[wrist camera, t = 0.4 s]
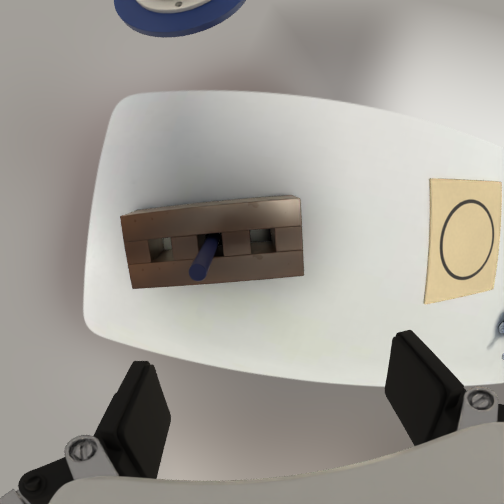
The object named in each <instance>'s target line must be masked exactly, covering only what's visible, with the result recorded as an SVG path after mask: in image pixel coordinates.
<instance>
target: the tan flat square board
mask: <svg viewBox="0 0 504 504" xmlns="http://www.w3.org/2000/svg"><path fill="white" fill-rule="evenodd" d="M501 202H502V183H501V182H494V181H478V180H457V179H430V235H429V254H428V268H427V279H426V289H425V297H424V304H430V303H435V302H440V301H444V300H449V299H454V298H458V297H463V296H467V295H472V294H476V293H480V292H484V291H488V290H492V289H493V288H494V282H495V275H496V268H497V260H498V251H499V241H500V227H501Z"/></svg>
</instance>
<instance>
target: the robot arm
mask: <svg viewBox="0 0 504 504" xmlns="http://www.w3.org/2000/svg"><path fill="white" fill-rule="evenodd" d="M136 1H137V2H138V3H139V4H140V5H141V6H142V7H143V8H145V9H147V10H149V11H153V12H157V13H177V12H184V11H187V10H191V9H194V8H197V7H199V6H202V5H203V4H205V3H207V2H209V1H211V0H136ZM463 387H464V385H463V384H462V383H461V382H460V381H459V380H458V379H457V378H456V377H455V376H454V375H453V373H452V372H451V371H450V370H449V369H448V368H447V367H446V366H445V365H444V364H443V363H442V362H441V361H440V359H439V358H438V357H437V356H436V355H435V354H434V353H433V352H432V351H431V350H430V349H429V348H428V347H427V346H426V345H425V344H424V343H423V342H422V341H421V340H420V339H419V337H418V336H417V335H416V334H415V333H414V332H413V331H411V330H407V331H403V332H398V333H397V334H396V337H394V338H393V340H392V346H391V354H390V360H389V367H388V373H387V379H386V385H385V394H386V397H387V399H388V400H389V402H390V403H391V405H392V407H393V409H394V410H395V412H396V414H397V416H398V417H399V419H400V421H401V423H402V424H403V426H404V428H405V430H406V431H407V433H408V435H409V437H410V438H411V440H412V442H413V444H414V447H411V448H408V449H405V450H402V451H399V452H396V453H392V454H389V455H386V456H382V457H379V458H375V459H372V460H368V461H364V462H360V463H356V464H352V465H347V466H343V467H338V468H333V469H328V470H323V471H317V472H311V473H305V474H298V475H291V476H284V477H274V478H263V479H251V480H231V481H187V480H164V479H156V478H157V474H158V470H159V466H160V462H161V457H162V454H163V449H164V445H165V441H166V437H167V433H168V430H169V426H170V422H171V415H170V412H169V409H168V406H167V403H166V400H165V398H164V395H163V392H162V389H161V386H160V383H159V380H158V377H157V373H156V370H155V367H154V365H150V363H149V362H148V361H134V362H133V363H132V365H131V367H130V369H129V370H128V372H127V374H126V376H125V378H124V380H123V382H122V384H121V386H120V388H119V390H118V392H117V393H116V394H115V395H114V396H113V398H112V400H111V402H110V404H109V406H108V408H107V410H106V412H105V414H104V416H103V418H102V420H101V422H100V424H99V426H98V428H97V430H96V432H95V434H94V436H90V435H81V436H78V437H75V438H73V439H72V440H70V441H69V442H68V443H67V445H66V447H65V450H64V453H65V457H64V458H62V459H60V460H57V461H55V462H52V463H50V464H47V465H45V466H42V467H40V468H37V469H35V470H32V471H29V472H27V473H26V474H24V475H23V476H22V477H21V479H20V481H19V485H18V486H19V490H17V491H15V490H14V489H12V490H11V491H10V492H8V493H7V494H5V495H4V496H2V497H1V498H0V504H504V405H502V404H498V398H497V395H496V394H495V393H494V392H493V391H492V390H490V389H488V388H485V387H474V388H471V389H469V390H468V391H466V390H465V389H464V388H463Z"/></svg>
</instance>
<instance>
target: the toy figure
mask: <svg viewBox="0 0 504 504" xmlns="http://www.w3.org/2000/svg"><path fill="white" fill-rule="evenodd" d="M499 332H500V333H504V322H502V323H501V324H500V326H499ZM502 359H503V360H504V354H503V355H502Z"/></svg>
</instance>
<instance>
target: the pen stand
mask: <svg viewBox="0 0 504 504" xmlns="http://www.w3.org/2000/svg"><path fill="white" fill-rule="evenodd" d="M120 218H121V226H122V233H123V239H124V245H125V251H126V257H127V262H128V268H129V273H130V279H131V284H132V288H133V289H138V288H155V287H170V286H185V285H199V284H213V283H226V282H238V281H250V280H262V279H273V278H284V277H295V276H304V263H303V250H302V249H303V239H302V219H301V201H300V198H298V197H295V196H293V195H283V196H269V197H256V198H244V199H233V200H222V201H212V202H202V203H192V204H183V205H175V206H166V207H158V208H150V209H142V210H136V211H134V212H131V213H128V214H125V215H122V216H120ZM268 228H270V231H271V241H265V242H253V243H251V242H250V230H256V229H268ZM221 232H222V243H223V245H218V246H217V249H216V251H215V254H214V257H213V259H212V262H211V265H210V267H209V270H208V273H207V275H206V277H205V279H204V280H202V281H194V280H193V279H191V277H190V276H189V268H190V267H191V265H192V263H193V261H194V260H195V258H196V256H197V255H198V253H199V251H200V249H201V248H202V246H203V244H204V243H205V241H206V240H205V234H210V233H221ZM168 237H171V245H172V250H164V246H163V239H162V238H168Z"/></svg>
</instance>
